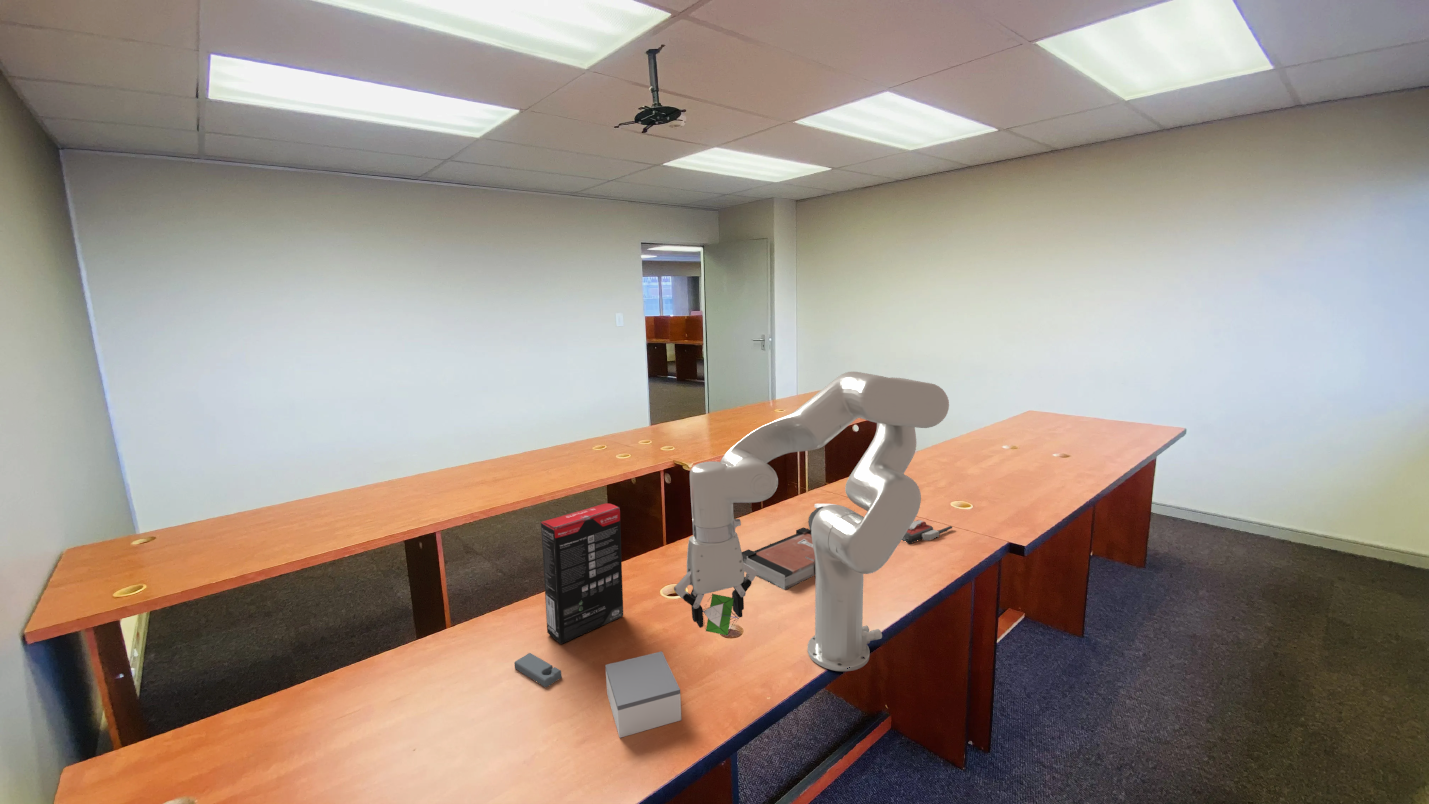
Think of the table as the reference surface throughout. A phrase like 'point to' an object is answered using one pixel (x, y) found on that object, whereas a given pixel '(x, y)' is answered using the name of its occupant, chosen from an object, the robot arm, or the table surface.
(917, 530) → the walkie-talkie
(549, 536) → the graphics card box
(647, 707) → the grey stand
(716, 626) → the geometric puzzle
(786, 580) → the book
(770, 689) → the table surface
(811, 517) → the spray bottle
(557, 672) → the bracket
